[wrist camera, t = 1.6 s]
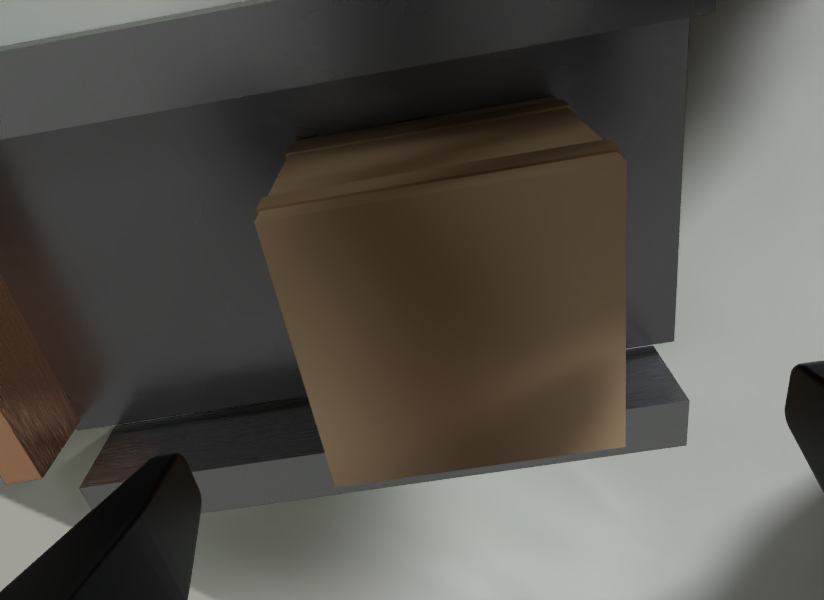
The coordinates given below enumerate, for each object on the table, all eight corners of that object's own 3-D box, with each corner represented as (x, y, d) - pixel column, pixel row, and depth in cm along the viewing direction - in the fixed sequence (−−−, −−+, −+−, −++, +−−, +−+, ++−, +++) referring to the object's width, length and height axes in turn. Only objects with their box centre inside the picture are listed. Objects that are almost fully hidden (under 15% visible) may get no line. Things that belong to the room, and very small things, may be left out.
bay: (707, -454, 10) (990, -819, 5) (668, 384, 19) (767, 539, 14) (-424, -208, 11) (-1035, -326, 7) (18, 479, 20) (-106, 653, 15)
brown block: (556, 93, 14) (629, 157, 10) (567, 321, 17) (628, 448, 13) (292, 138, 15) (250, 220, 10) (348, 354, 17) (333, 489, 13)
